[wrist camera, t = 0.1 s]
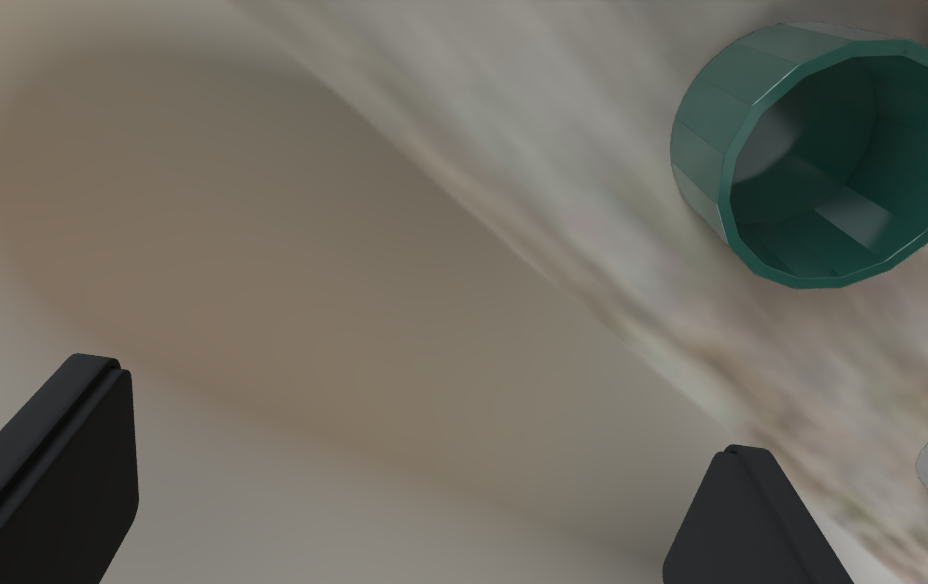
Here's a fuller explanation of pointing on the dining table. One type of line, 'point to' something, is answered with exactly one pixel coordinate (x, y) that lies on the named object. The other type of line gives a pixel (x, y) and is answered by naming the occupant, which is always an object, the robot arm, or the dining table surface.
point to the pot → (809, 151)
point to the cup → (923, 466)
